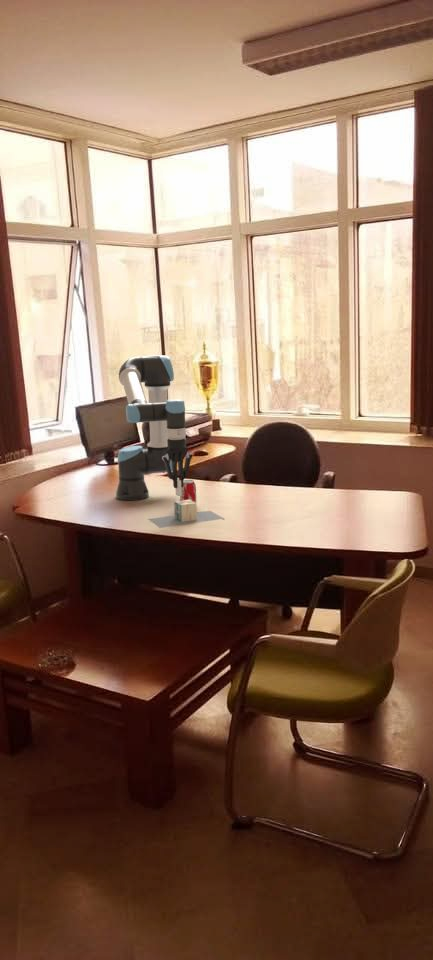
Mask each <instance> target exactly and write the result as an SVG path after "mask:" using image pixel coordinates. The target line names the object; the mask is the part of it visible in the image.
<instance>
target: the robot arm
mask: <svg viewBox="0 0 433 960" xmlns="http://www.w3.org/2000/svg"><path fill="white" fill-rule="evenodd" d="M174 377H175V376H174V367H173V364H172V360H171V358H170V357H169V356H168V355H158V354H157V355H144V356H143V355H142V356H139V355H137V356H133V357H130V358H128V359H127V360H125V361H124V363H123V364H122V365H121V366H120V368H119V370H118V380H119V382H120V384H121V385H122V387H123V389H124V392H125V396H126V401H127V403H128V404H127V405H126V406H125V415H126V416H125V417H126V421H127V422H128V423H135V424H138V423H145V422H146V423H149V442H148V443H147V444H146V448H143V446H142V445H131V446H126V447H123V448H121V449H120V450H119V451H118V452H117V466H118V467H117V468H118V483H117V489H116V491H115V498H116V499H117V500H120V501H139V500H144V499H147V498H148V497H149V495H150V494H149V493H150V492H149V489H148V486H147V483H146V481H145V475H147V474H162V473H163V474H165V473H167V476H168V479H169V480H172V481H173V482H172V483H173V484H172V485H173V488H174V489H175V495H176V496H177V497H180V496H182V493H181V487H183V480H185V479H186V478H188V475H189V470H190V465H191V461H192V458H193V456H194V455H193V453H190V452H188V450H187V439H186V437H187V436H186V435H187V434H186V432H187V431H186V429H187V428H186V407H185V401H184V400H183V399H180V398H174V399H168V389H169V388H170V386H171V382H173V381H174V379H175V378H174ZM142 383H144V387H145V388H146V389H147V390H148V394H147V395H148V401H147V399H146V395H145V392H144V389H143V386H142ZM184 459H185V460H184Z"/></svg>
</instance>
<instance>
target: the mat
mask: <svg viewBox="0 0 433 960" xmlns="http://www.w3.org/2000/svg"><path fill="white" fill-rule="evenodd" d="M147 520H148V521H149V522H151V523H152V524H154V525H155V526H156V527H158V528H159V529H161V528H162V529H163V528H168V527H169V528H170V527H175V526H176V527H177V526H183V525H190V524H196V523H197V524H198V523H203V522H204V523H205V522H211V521H218V520H225V518H224V517H222V516H221V515H219V514H216V513H215V512H213V511H211V510H206V511H205V510H204V511H197V520H191V521H184V522H180V521H179V520H177V519H176V518H175V514H174V515H169V516H159V517H153V518H147Z"/></svg>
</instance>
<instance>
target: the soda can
mask: <svg viewBox="0 0 433 960" xmlns="http://www.w3.org/2000/svg"><path fill="white" fill-rule="evenodd" d="M181 493H182V496H179V501H183V500H192V501H193V502H195V503H196V504H197V485H196V483H195V480H193V479H184V480H183V487H181Z"/></svg>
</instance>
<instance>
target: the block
mask: <svg viewBox="0 0 433 960" xmlns="http://www.w3.org/2000/svg"><path fill="white" fill-rule="evenodd" d="M173 504H174V505H173V506H174V515H175V518H176V519H177V520H179V521H180V522H184V521H191V520H197V512H198V511H197V510H198V509H197V502H196V503H195V502H193V501H192V500H183V501H180V500H177V501H176V500H175V501H174V502H173Z"/></svg>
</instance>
